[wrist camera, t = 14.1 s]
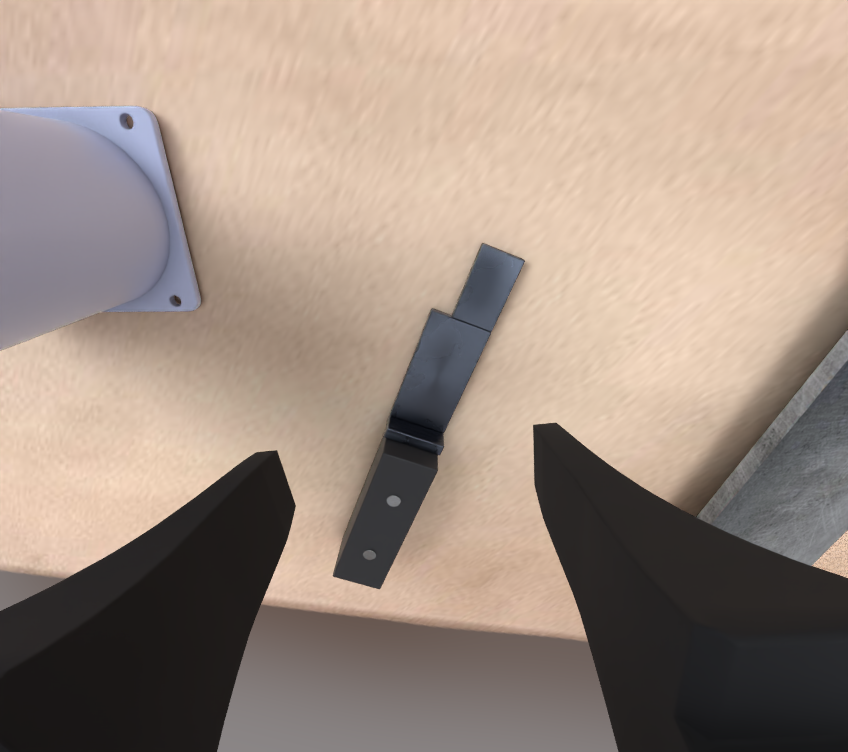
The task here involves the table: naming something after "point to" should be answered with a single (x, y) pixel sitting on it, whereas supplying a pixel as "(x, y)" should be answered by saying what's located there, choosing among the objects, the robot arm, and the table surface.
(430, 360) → the knife
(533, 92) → the table surface
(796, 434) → the meat cleaver
